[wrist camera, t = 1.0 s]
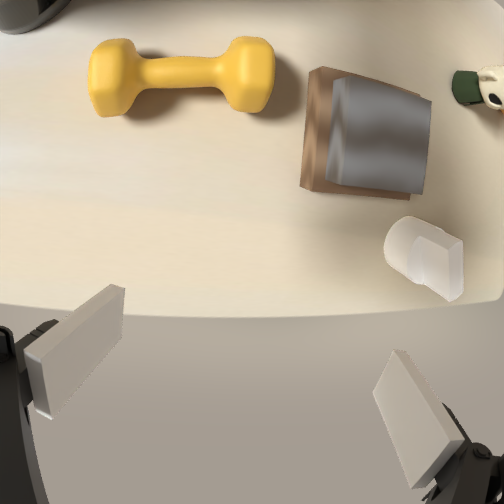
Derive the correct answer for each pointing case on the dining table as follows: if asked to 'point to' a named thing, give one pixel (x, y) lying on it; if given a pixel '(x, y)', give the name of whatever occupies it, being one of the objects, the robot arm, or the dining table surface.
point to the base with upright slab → (426, 256)
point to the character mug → (480, 86)
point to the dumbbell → (181, 74)
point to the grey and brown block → (364, 136)
